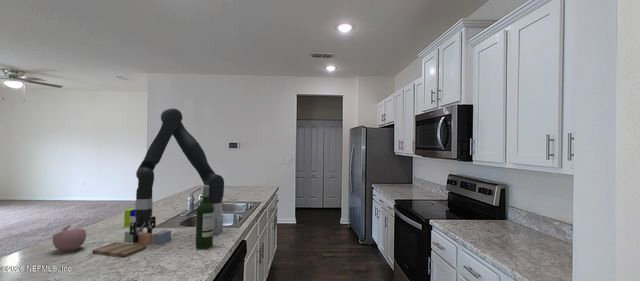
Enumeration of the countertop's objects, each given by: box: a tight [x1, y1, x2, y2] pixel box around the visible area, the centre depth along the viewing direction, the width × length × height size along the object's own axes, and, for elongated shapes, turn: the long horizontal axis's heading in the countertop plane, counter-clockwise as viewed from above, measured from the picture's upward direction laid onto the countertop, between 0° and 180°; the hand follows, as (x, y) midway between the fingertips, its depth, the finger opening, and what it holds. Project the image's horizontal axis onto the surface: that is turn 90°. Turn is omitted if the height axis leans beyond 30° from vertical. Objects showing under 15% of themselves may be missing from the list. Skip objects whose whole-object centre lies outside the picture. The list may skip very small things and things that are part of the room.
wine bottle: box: [195, 184, 214, 250], centre depth 154 cm, size 8×8×30 cm
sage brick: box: [123, 228, 144, 243], centre depth 161 cm, size 8×4×5 cm, turn 171°
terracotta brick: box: [132, 231, 154, 247], centre depth 155 cm, size 8×4×5 cm, turn 77°
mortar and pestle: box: [52, 224, 87, 252], centre depth 143 cm, size 12×12×12 cm
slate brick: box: [152, 229, 172, 246], centre depth 159 cm, size 8×4×5 cm, turn 168°
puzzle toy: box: [123, 206, 136, 229], centre depth 188 cm, size 10×10×10 cm
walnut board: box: [92, 242, 147, 259], centre depth 144 cm, size 17×12×2 cm
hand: (142, 240), depth 155 cm, fingers open, 8 cm apart
